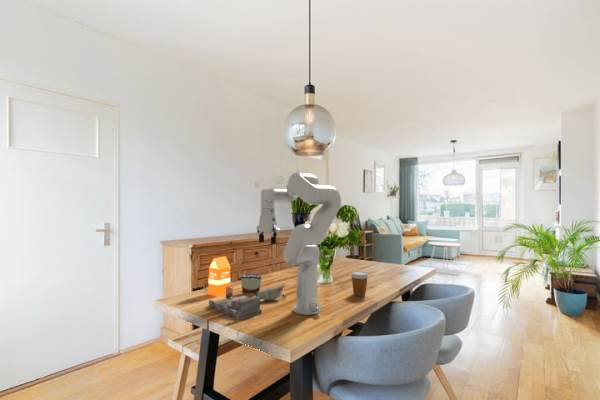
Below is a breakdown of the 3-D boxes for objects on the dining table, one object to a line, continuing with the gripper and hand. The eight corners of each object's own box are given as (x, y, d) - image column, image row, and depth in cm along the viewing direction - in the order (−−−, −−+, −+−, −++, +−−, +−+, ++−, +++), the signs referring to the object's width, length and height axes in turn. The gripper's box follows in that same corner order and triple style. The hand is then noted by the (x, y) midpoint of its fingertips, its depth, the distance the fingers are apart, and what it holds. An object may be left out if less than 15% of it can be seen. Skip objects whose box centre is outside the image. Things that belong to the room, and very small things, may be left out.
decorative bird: (254, 301, 155) (254, 286, 155) (283, 297, 162) (283, 283, 162) (257, 304, 150) (257, 289, 150) (287, 300, 157) (287, 285, 157)
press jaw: (247, 305, 142) (247, 288, 142) (231, 310, 136) (231, 292, 136) (235, 300, 149) (235, 284, 149) (218, 305, 143) (219, 288, 143)
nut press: (261, 313, 137) (261, 296, 137) (239, 320, 129) (239, 302, 129) (230, 300, 155) (230, 286, 155) (208, 306, 146) (209, 290, 146)
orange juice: (230, 292, 168) (230, 256, 169) (217, 296, 161) (218, 259, 161) (220, 290, 173) (221, 255, 173) (208, 294, 166) (208, 257, 166)
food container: (264, 291, 172) (264, 273, 172) (261, 294, 166) (261, 276, 166) (242, 290, 173) (243, 272, 173) (239, 293, 167) (239, 275, 167)
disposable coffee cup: (349, 296, 164) (349, 274, 164) (351, 291, 173) (352, 270, 173) (367, 298, 161) (367, 275, 161) (368, 293, 170) (369, 271, 170)
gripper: (283, 212, 163) (283, 244, 163) (262, 211, 175) (262, 241, 174) (273, 212, 158) (273, 245, 157) (252, 211, 169) (251, 242, 169)
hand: (267, 243), depth 166 cm, fingers open, 9 cm apart
